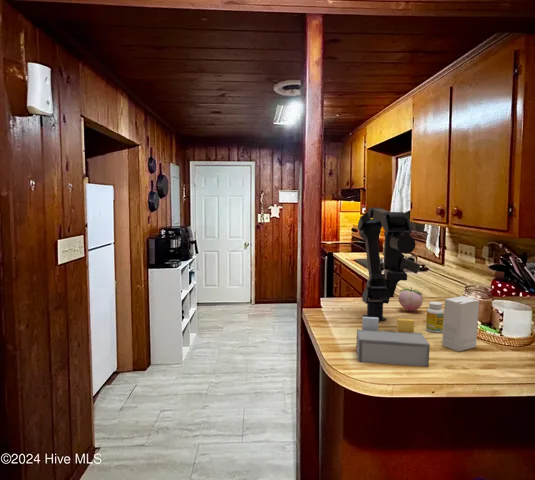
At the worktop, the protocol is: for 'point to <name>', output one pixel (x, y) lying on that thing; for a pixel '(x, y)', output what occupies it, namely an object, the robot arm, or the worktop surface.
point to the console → (392, 348)
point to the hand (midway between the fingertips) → (391, 296)
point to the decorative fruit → (410, 299)
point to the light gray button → (370, 323)
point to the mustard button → (405, 325)
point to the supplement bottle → (435, 317)
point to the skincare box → (460, 323)
